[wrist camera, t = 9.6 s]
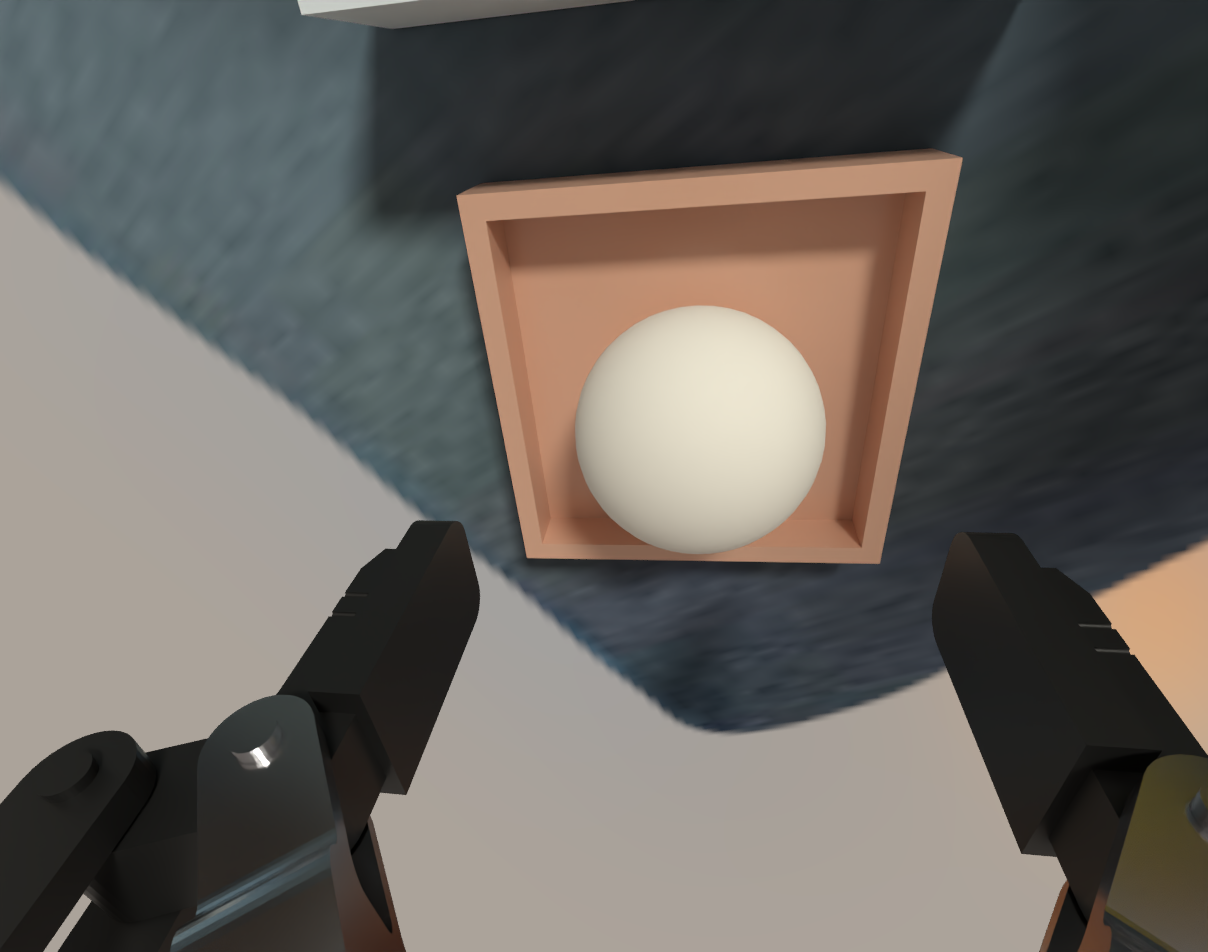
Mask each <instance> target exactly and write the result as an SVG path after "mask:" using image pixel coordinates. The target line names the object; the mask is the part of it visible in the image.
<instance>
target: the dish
mask: <svg viewBox="0 0 1208 952" xmlns="http://www.w3.org/2000/svg"><path fill="white" fill-rule="evenodd" d="M962 160H963V158H962V157H959V156H956V155H952V154H949V153H946V152H942V151H939V150H936V149H933V148H929V149H916V150H903V151H890V152H877V153H864V154H851V155H838V156H825V157H812V158H799V159H786V160H774V161H761V162H748V163H735V164H722V165H709V166H696V167H683V168H670V169H657V170H644V171H631V172H618V173H605V174H592V175H579V176H566V177H553V178H541V179H528V180H515V181H502V182H489V183H480V184H478V185H476V186H474V187H472V188H470V189H468V190H466V191H464V192H462V193H460V194H458V195H456V196H457V201H458V206H459V211H460V217H461V222H462V227H463V232H464V237H465V242H466V247H467V252H468V258H469V263H470V268H471V273H472V278H473V283H474V288H475V294H476V299H477V304H478V309H479V314H480V319H481V324H482V329H483V335H484V340H485V345H486V350H487V355H488V360H489V365H490V370H491V376H492V381H493V386H494V391H495V396H496V401H497V406H498V412H499V417H500V422H501V427H502V432H503V437H504V442H505V447H506V453H507V458H508V463H509V468H510V473H511V478H512V483H513V489H514V494H515V499H516V504H517V509H518V514H519V519H520V524H521V530H522V535H523V540H524V545H525V550H526V555H527V558H557V559H618V560H679V561H741V562H802V563H863V564H880V560H881V555H882V550H883V545H884V540H885V535H886V530H887V526H888V521H889V516H890V511H891V506H892V501H893V496H894V491H895V486H896V482H897V477H898V472H899V467H900V462H901V457H902V452H903V447H904V443H905V438H906V433H907V428H908V423H909V418H910V413H911V408H912V404H913V399H914V394H915V389H916V384H917V379H918V374H919V369H920V364H921V360H922V355H923V350H924V345H925V340H926V335H927V330H928V325H929V321H930V316H931V311H932V306H933V301H934V296H935V291H936V286H937V282H938V277H939V272H940V267H941V262H942V257H943V252H944V247H945V242H946V238H947V233H948V228H949V223H950V218H951V213H952V208H953V203H954V199H955V194H956V189H957V184H958V179H959V174H960V169H961V164H962ZM696 305H701V306H718V307H724V308H730V309H734V310H737V311H741V312H744V313H747V314H749V315H751V316H753V317H756V318H758V319H760V320H762V321H763V322H765V323H767V324H768V325H770V326H771V327H773V328H774V329H776V330H777V331H778V332H779V333H781V334H782V335H783V336H784V337H785V338H787V339H788V340H789V341H790V342H791V343H792V344H793V345H794V347H795V348H796V349H797V350H798V351H799V352H800V353H801V355H802V356H803V358H804V359H805V361H806V363H807V364H808V366H809V367H810V369H811V371H812V372H813V375H814V377H815V379H816V381H817V384H818V386H819V389H820V393H821V396H822V400H823V405H824V409H825V419H826V435H825V448H824V452H823V457H822V462H821V464H820V467H819V470H818V472H817V475H816V478H815V480H814V483H813V485H812V486H811V488H810V490H809V492H808V494H807V495H806V497H805V498H804V499H803V501H802V502H801V503H800V505H799V506H798V507H797V509H796V510H795V511H794V512H793V513H792V514H791V515H790V516H789V517H788V518H787V519H786V521H784V522H783V523H782V524H781V525H779V526H778V527H777V528H776V529H774V530H773V531H771V532H770V533H768V534H767V535H765V536H763V537H762V538H760V539H758V540H756V541H754V542H752V543H750V544H748V545H745V546H743V547H740V548H737V549H734V550H729V551H725V552H720V553H712V554H686V553H679V552H673V551H669V550H665V549H661V548H658V547H656V546H653V545H650V544H648V543H646V542H644V541H642V540H640V539H638V538H636V537H635V536H633V535H632V534H630V533H629V532H627V531H626V530H624V529H623V528H622V527H620V526H619V525H618V524H617V523H616V522H615V521H613V520H612V519H611V518H610V517H609V516H608V514H607V513H606V512H605V511H604V510H603V509H602V507H601V506H600V504H599V503H598V502H597V500H596V499H595V497H594V496H593V494H592V493H591V491H590V489H589V487H588V485H587V483H586V481H585V479H584V476H583V473H582V470H581V467H580V464H579V461H578V456H577V451H576V441H575V420H576V411H577V407H578V402H579V398H580V394H581V391H582V388H583V386H584V384H585V381H586V379H587V377H588V375H589V373H590V371H591V370H592V368H593V366H594V365H595V363H596V361H597V359H598V358H599V357H600V356H601V354H602V353H603V352H604V351H605V349H606V348H607V347H608V346H609V345H610V344H611V343H612V342H613V341H614V340H615V339H616V338H618V337H619V336H620V335H621V334H622V333H623V332H625V331H626V330H628V329H629V328H630V327H632V326H633V325H635V324H636V323H638V322H640V321H642V320H644V319H646V318H647V317H649V316H652V315H655V314H657V313H660V312H663V311H666V310H670V309H674V308H679V307H686V306H696Z"/></svg>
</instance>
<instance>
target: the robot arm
mask: <svg viewBox="0 0 1208 952" xmlns="http://www.w3.org/2000/svg"><path fill="white" fill-rule="evenodd" d="M345 593H346V595H345V597H342V598H341V599H340V601H339V602H338V604H337V605H336V607H335V608H334V610H333V611H332V612H333V615H332V617H328V619H327V620H326V622H325V623H324V625H323V626H322V628H321V629H320V631H319V632H318V634H317V635H316V637H315V638H314V640H313V641H312V643H311V644H310V646H309V647H308V649H307V650H306V652H305V653H304V655H303V656H302V658H301V659H300V661H299V662H298V664H297V665H296V667H295V668H294V670H293V671H292V673H291V674H290V676H289V677H288V679H287V680H286V682H285V683H284V685H283V686H282V688H281V689H280V690H279V692H278V693H277V694H276V695H274V696H269V697H265V698H262V699H259V700H257V701H254V702H252V703H250V704H248V705H246V706H244V707H242V708H241V709H239V710H237V711H236V712H234V713H233V714H232V715H230V716H229V717H228V718H226V719H225V720H224V721H223V722H222V723H221V724H220V725H219V726H218V727H217V728H216V729H215V730H214V731H213V733H212V734H211V735H210V737H209V738H208V739H203V740H199V741H194V742H190V743H186V744H181V745H177V746H172V747H168V748H164V749H159V750H155V751H151V752H147V753H145V752H144V751H143V750H142V749H141V747H140V746H139V745H138V744H137V743H136V741H135V740H134V739H133V738H132V737H131V736H130V735H128V734H127V733H124V732H121V731H103V732H98V733H94V734H90V735H87V736H84V737H82V738H80V739H77V740H75V741H73V742H71V743H69V744H67V745H65V746H63V747H62V748H60V749H58V750H57V751H55V752H54V753H52V754H51V755H49V756H48V757H47V758H45V759H44V760H43V761H41V762H40V763H39V764H38V765H37V766H35V767H34V768H33V769H32V770H31V771H30V772H29V773H28V774H27V775H26V776H25V777H24V778H23V779H22V780H21V781H20V782H19V784H18V785H17V786H16V787H15V788H14V789H13V790H12V792H11V793H10V794H9V795H8V796H7V797H6V798H5V799H4V801H3V802H2V803H1V804H0V952H43V951H44V950H45V948H46V947H47V945H48V944H49V942H50V941H51V939H52V938H53V937H54V935H55V934H56V932H57V931H58V929H59V928H60V926H61V925H62V923H63V922H64V921H65V919H66V918H67V916H68V915H69V913H70V912H71V910H72V909H73V907H74V906H75V905H76V903H77V902H78V900H79V899H80V897H81V896H82V894H84V895H86V896H87V897H88V898H89V899H90V900H92V901H91V903H90V904H89V906H88V907H87V909H86V910H85V912H84V913H83V915H82V916H81V918H80V919H79V921H78V922H77V924H76V925H75V927H74V928H73V929H72V931H71V932H70V934H69V936H68V937H67V939H66V940H65V941H64V943H63V945H62V946H61V947H60V949H59V950H58V952H406V950H405V947H404V944H403V940H402V937H401V933H400V929H399V925H398V921H397V917H396V913H395V910H394V905H393V901H392V897H391V893H390V889H389V885H388V881H387V877H386V873H385V869H384V865H383V861H382V857H381V853H380V849H379V845H378V841H377V837H376V833H375V828H374V825H373V821H372V819H371V817H370V814H371V812H372V809H373V807H374V805H375V803H376V800H377V798H378V796H379V794H380V793H392V794H402V795H406V794H407V792H408V789H409V787H410V784H411V782H412V779H413V777H414V774H415V772H416V769H417V767H418V765H419V762H420V760H421V757H422V754H423V752H424V749H425V747H426V744H427V742H428V740H429V737H430V735H431V732H432V729H433V727H434V724H435V722H436V720H437V717H438V715H439V712H440V710H441V707H442V705H443V702H444V700H445V697H446V695H447V692H448V690H449V687H450V685H451V682H452V679H453V677H454V675H455V672H456V670H457V667H458V665H459V662H460V660H461V657H462V655H463V652H464V650H465V647H466V645H467V642H468V639H469V637H470V635H471V632H472V630H473V627H474V624H475V622H476V619H477V616H478V611H479V604H480V590H479V584H478V580H477V576H476V572H475V568H474V564H473V561H472V557H471V553H470V549H469V545H468V541H467V537H466V534H465V530H464V528H463V525H462V524H461V523H460V522H458V521H420V520H419V521H415V522H414V523H413V524H412V525H411V526H410V528H409V529H408V531H407V532H406V534H405V536H404V537H403V539H402V540H401V542H400V544H399V545H398V547H397V548H396V549H385V550H383V551H382V552H381V553H380V554H378V555H377V556H376V557H375V558H374V559H372V560H371V561H370V562H369V563H367V564H366V565H365V566H364V567H362V568H361V569H360V571H359V572H358V574H357V575H356V577H355V579H354V580H353V581H352V583H351V584H350V586H349V587H348V589H347V590H346V592H345ZM932 625H933V632H934V637H935V640H936V643H937V646H938V648H939V651H940V653H941V656H942V658H943V661H944V663H945V666H946V668H947V671H948V673H949V675H950V678H951V680H952V683H953V685H954V688H955V690H956V693H957V695H958V698H959V700H960V703H961V705H962V708H963V710H964V713H965V715H966V718H967V720H968V723H969V725H970V728H971V730H972V733H973V735H974V737H975V740H976V742H977V745H978V747H979V750H980V752H981V755H982V757H983V759H984V762H985V765H986V767H987V769H988V772H989V774H990V777H991V780H992V782H993V784H994V787H995V789H996V792H997V794H998V797H999V799H1000V802H1001V804H1002V807H1003V809H1004V812H1005V814H1006V817H1007V819H1008V822H1009V824H1010V827H1011V829H1012V831H1013V834H1014V836H1015V839H1016V841H1017V844H1018V846H1019V849H1020V851H1021V854H1031V855H1041V856H1053V857H1057V858H1058V860H1059V863H1060V865H1061V867H1062V869H1063V871H1064V874H1065V876H1066V878H1067V881H1066V882H1065V883H1064V885H1063V887H1062V889H1061V891H1060V893H1059V896H1058V899H1057V902H1056V904H1055V907H1054V911H1053V913H1052V916H1051V919H1050V922H1049V925H1048V928H1047V930H1046V933H1045V936H1044V939H1043V942H1042V945H1041V948H1040V951H1039V952H1208V755H1207V754H1206V753H1205V751H1204V750H1203V748H1202V747H1201V746H1200V744H1199V743H1198V741H1197V740H1196V739H1195V737H1194V736H1193V735H1192V733H1191V732H1190V731H1189V729H1188V728H1187V726H1186V725H1185V724H1184V722H1183V721H1182V720H1181V718H1180V717H1179V715H1178V714H1177V713H1176V711H1175V710H1174V709H1173V707H1172V706H1171V704H1170V703H1169V702H1168V700H1167V699H1166V698H1165V696H1164V695H1163V694H1162V692H1161V691H1160V689H1159V688H1158V687H1157V685H1156V684H1155V683H1154V681H1153V680H1152V678H1151V677H1150V676H1149V674H1148V673H1147V672H1146V670H1145V669H1144V667H1143V666H1142V665H1141V663H1140V662H1139V661H1138V659H1137V658H1136V657H1135V655H1131V654H1130V652H1129V649H1130V648H1129V647H1128V645H1127V644H1126V643H1125V641H1124V640H1123V639H1122V637H1121V636H1120V634H1119V633H1118V632H1117V630H1116V629H1112V628H1111V622H1110V621H1109V619H1108V618H1107V617H1106V615H1105V614H1104V612H1102V610H1101V608H1100V607H1099V606H1098V604H1097V603H1096V602H1095V600H1094V599H1093V597H1092V596H1091V595H1090V594H1089V593H1088V592H1087V591H1086V590H1084V589H1083V588H1082V587H1080V586H1079V585H1078V584H1076V583H1075V582H1074V581H1072V580H1071V579H1070V578H1068V577H1067V576H1066V575H1064V574H1063V573H1062V572H1060V571H1059V570H1058V569H1056V568H1041V567H1040V566H1039V564H1038V563H1037V561H1036V560H1035V558H1034V557H1033V555H1032V554H1031V552H1030V551H1029V549H1028V548H1027V546H1026V545H1025V543H1024V542H1023V541H1022V539H1021V538H1020V537H1019V536H1018V535H1016V534H1013V533H975V532H960V533H958V534H956V536H955V537H954V539H953V541H952V543H951V546H950V550H949V553H948V556H947V560H946V563H945V566H944V570H943V573H942V576H941V580H940V583H939V586H938V590H937V593H936V596H935V599H934V603H933V609H932Z"/></svg>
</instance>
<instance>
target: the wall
mask: <svg viewBox="0 0 1208 952" xmlns="http://www.w3.org/2000/svg"><path fill="white" fill-rule="evenodd" d="M625 1H633V0H298V4H299V7H300V11H301V14H302V15H305V16H311V17H318V18H324V19H331V20H337V21H344V22H350V23H357V24H363V25H369V26H376V27H382V28H389V29H397V28H405V27H414V26H422V25H431V24H439V23H447V22H456V21H464V20H473V19H481V18H490V17H498V16H507V15H515V14H523V13H532V12H540V11H549V10H557V9H566V8H574V7H583V6H591V5H599V4H608V3H616V2H625Z"/></svg>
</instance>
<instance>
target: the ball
mask: <svg viewBox="0 0 1208 952" xmlns="http://www.w3.org/2000/svg"><path fill="white" fill-rule="evenodd" d="M825 435H826V419H825V409H824V405H823V400H822V396H821V393H820V389H819V386H818V384H817V381H816V379H815V377H814V375H813V372H812V371H811V369H810V367H809V366H808V364H807V363H806V361H805V359H804V358H803V356H802V355H801V353H800V352H799V351H798V350H797V349H796V348H795V347H794V345H793V344H792V343H791V342H790V341H789V340H788V339H787V338H785V337H784V336H783V335H782V334H781V333H779V332H778V331H777V330H776V329H774V328H773V327H771V326H770V325H768V324H767V323H765V322H763V321H762V320H760V319H758V318H756V317H753V316H751V315H749V314H747V313H744V312H741V311H737V310H734V309H730V308H724V307H718V306H701V305H696V306H686V307H679V308H674V309H670V310H666V311H663V312H660V313H657V314H655V315H652V316H649V317H647V318H646V319H644V320H642V321H640V322H638V323H636V324H635V325H633V326H632V327H630V328H629V329H628V330H626V331H625V332H623V333H622V334H621V335H620V336H619V337H618V338H616V339H615V340H614V341H613V342H612V343H611V344H610V345H609V346H608V347H607V348H606V349H605V351H604V352H603V353H602V354H601V356H600V357H599V358H598V359H597V361H596V363H595V365H594V366H593V368H592V370H591V371H590V373H589V375H588V377H587V379H586V381H585V384H584V386H583V388H582V391H581V394H580V398H579V402H578V407H577V411H576V420H575V441H576V451H577V456H578V461H579V464H580V467H581V470H582V473H583V476H584V479H585V481H586V483H587V485H588V487H589V489H590V491H591V493H592V494H593V496H594V497H595V499H596V500H597V502H598V503H599V504H600V506H601V507H602V509H603V510H604V511H605V512H606V513H607V514H608V516H609V517H610V518H611V519H612V520H613V521H615V522H616V523H617V524H618V525H619V526H620V527H622V528H623V529H624V530H626V531H627V532H629V533H630V534H632V535H633V536H635V537H636V538H638V539H640V540H642V541H644V542H646V543H648V544H650V545H653V546H656V547H658V548H661V549H665V550H669V551H673V552H679V553H686V554H712V553H720V552H725V551H729V550H734V549H737V548H740V547H743V546H745V545H748V544H750V543H752V542H754V541H756V540H758V539H760V538H762V537H763V536H765V535H767V534H768V533H770V532H771V531H773V530H774V529H776V528H777V527H778V526H779V525H781V524H782V523H783V522H784V521H786V519H787V518H788V517H789V516H790V515H791V514H792V513H793V512H794V511H795V510H796V509H797V507H798V506H799V505H800V503H801V502H802V501H803V499H804V498H805V497H806V495H807V494H808V492H809V490H810V488H811V486H812V485H813V483H814V480H815V478H816V475H817V472H818V470H819V467H820V464H821V462H822V457H823V452H824V448H825Z"/></svg>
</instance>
